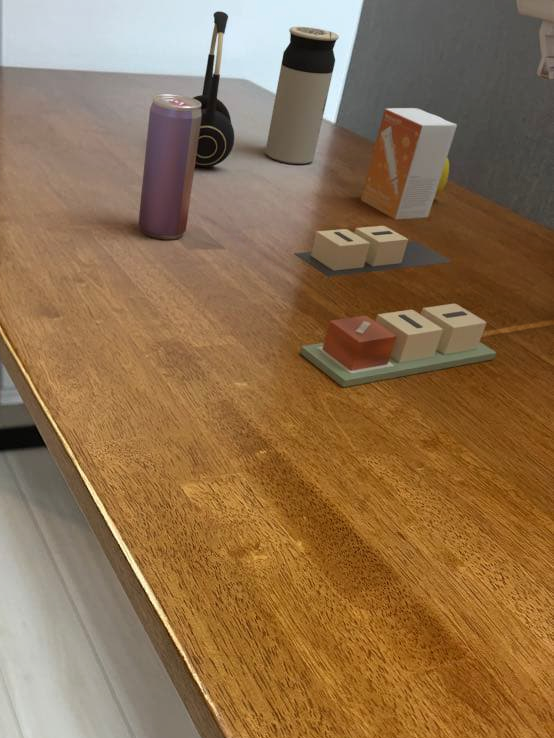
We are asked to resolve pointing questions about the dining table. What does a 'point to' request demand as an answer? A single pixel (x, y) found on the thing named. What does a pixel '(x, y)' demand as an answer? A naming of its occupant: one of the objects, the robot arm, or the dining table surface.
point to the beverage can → (169, 165)
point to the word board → (414, 345)
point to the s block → (359, 342)
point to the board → (366, 251)
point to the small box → (407, 162)
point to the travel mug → (301, 95)
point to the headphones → (214, 107)
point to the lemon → (443, 178)
